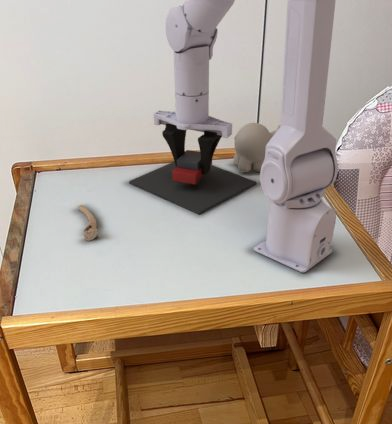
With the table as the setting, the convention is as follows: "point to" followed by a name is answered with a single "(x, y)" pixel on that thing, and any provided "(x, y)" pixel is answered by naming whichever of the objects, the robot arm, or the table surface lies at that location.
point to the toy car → (188, 168)
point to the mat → (193, 187)
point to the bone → (92, 227)
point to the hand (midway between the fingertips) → (192, 169)
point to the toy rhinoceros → (251, 146)
